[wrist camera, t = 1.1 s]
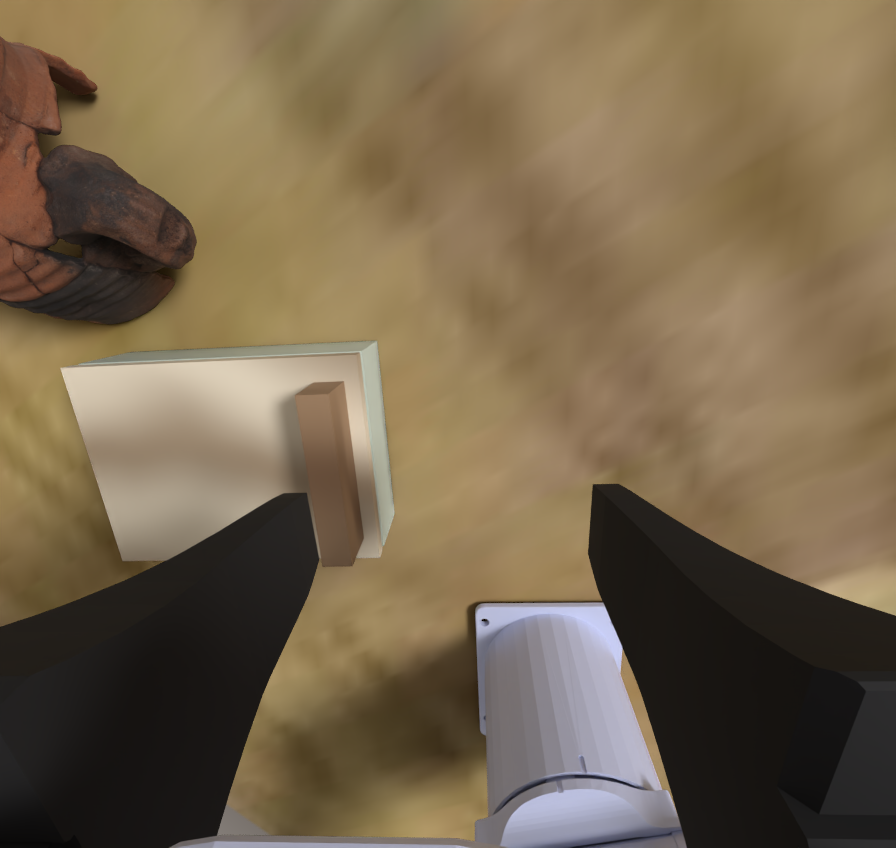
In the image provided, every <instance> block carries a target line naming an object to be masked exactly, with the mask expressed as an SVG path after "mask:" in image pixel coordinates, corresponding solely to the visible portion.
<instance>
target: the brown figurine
mask: <svg viewBox="0 0 896 848" xmlns="http://www.w3.org/2000/svg"><path fill="white" fill-rule="evenodd" d="M52 81H53V82H55V83H56V84H58V85H60V86H62V87H63V88H65V89H66V90H68V91H70V92H71V93H74V94H77V95H84V94H90V93H92V92H95V91H96V90H97V85H96V84H95V83H94V82H92V81H90V80H89V79H88V78H87V77H86V75H85V74H84V73H83V72H82V71H81V70H78V69H75V68H73V67H71V66H70V65H68V64H67V63H66V62H65V61H64V60H63V59H61V58H59V57H57V56H54V55H50V54H48V53H45V52H43V51H42V50H39V49H36V48H33V47H30V46H27V45H24V44H22V43H11V42H6V41H5V40H4V39H3V38H2V37H0V301H1V302H4V303H5V304H7V305H9V306H11V307H15V308H24V309H26V310H28V311H31V312H33V313H44V314H46V315H49V316H51V317H54V318H58V319H65V320H84V321H89V322H93V323H100V324H116V323H120V322H125V321H130V320H132V319H134V318H136V317H138V316H140V315H143V314H145V313H147V312H148V311H149V310H151V309H153V308H154V307H155V306H156V305H157V304H158V303H159V302H160V300H162V299H163V298H164V297H165V296H166V295H167V294H168V292H169V291H170V290H171V289H172V287H173V286H174V284H175V282H174V280H173V279H172V278H171V277H169V276H167V275H162V274H159V273H157V272H156V271H157V270H159V269H161V268H164V267H168V268H172V269H180V268H182V267H183V266H184V265H185V264H186V263H188V262H189V261H191V260H192V259H193V256H194V249H195V246H196V243H197V241H196V236H195V233H194V230H193V227H192V225H191V223H190V222H189V220H188V219H187V218H186V217H185V216H184V215H183V214H182V213H181V212H180V211H179V210H177V209H176V208H175V207H174V206H172V205H171V204H170V203H169V202H167V201H166V200H165V199H164V198H162V197H161V196H159V195H158V194H156V193H154V192H153V191H151V190H150V189H148V188H146V187H144V186H143V185H141V184H139V183H137V181H136V179H134V178H133V177H132V176H131V175H129V174H128V173H127V172H125V171H124V170H123V169H121V168H120V167H118V165H117V164H116V163H115V162H114V161H113V160H112V159H110V158H108V157H107V156H105V155H102V154H98V153H94V152H91V151H87V150H84V149H82V148H80V147H77V146H74V145H61V146H58V147H56V148H54V149H53V150H52V151H51V152H50V154H49V155H48V156H47V157H46V158H44V157H43V155H42V153H41V151H40V149H39V140H38V134H39V133H43V134H45V135H46V134H48V135H59V134H60V133H61V128H62V126H61V120H60V117H59V110H58V105H57V95H56V88H55V86H54V84H53V82H52ZM59 238H61V239H63V240H65V241H66V242H68V243H71V244H77V245H81V247H82V256H83V257H82V258H76V257H73V256H68V255H64V254H61V253H56V252H53V251H50V250H48V248H49V247H50V246H53V245H55V244H56V243H57V241H58V239H59Z"/></svg>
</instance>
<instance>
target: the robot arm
mask: <svg viewBox="0 0 896 848" xmlns="http://www.w3.org/2000/svg"><path fill="white" fill-rule="evenodd" d="M588 555H589V559H590V563H591V567H592V570H593V574H594V578H595V581H596V585H597V588H598V591H599V593H600V596H601V598H602V601H603V603H483V604H479V605H478V606H477V607H476V609H475V622H476V645H477V669H478V692H479V716H480V731H481V733H482V734H483V735H485V736H486V751H487V792H488V817H487V818H484V819H480V820H477V821H476V822H475V841H470V840H464V839H458V838H407V837H340V836H272V835H219V836H217V833H218V829H219V826H220V823H221V819H222V816H223V813H224V810H225V806H226V803H227V800H228V796H229V793H230V790H231V787H232V784H233V780H234V777H235V774H236V771H237V768H238V765H239V762H240V759H241V756H242V753H243V750H244V747H245V744H246V741H247V738H248V735H249V732H250V729H251V726H252V724H253V721H254V718H255V715H256V712H257V709H258V706H259V704H260V701H261V698H262V695H263V693H264V691H265V688H266V686H267V683H268V681H269V679H270V676H271V674H272V672H273V670H274V668H275V666H276V663H277V661H278V659H279V657H280V655H281V653H282V651H283V649H284V646H285V644H286V642H287V640H288V638H289V636H290V634H291V632H292V629H293V627H294V625H295V623H296V621H297V619H298V616H299V614H300V612H301V610H302V608H303V606H304V603H305V601H306V599H307V597H308V594H309V591H310V588H311V585H312V582H313V579H314V576H315V572H316V569H317V565H318V562H319V555H318V550H317V544H316V539H315V534H314V528H313V523H312V518H311V512H310V507H309V502H308V496H307V493H283V494H281V495H279V496H277V497H275V498H273V499H271V500H269V501H267V502H266V503H264V504H262V505H261V506H259V507H257V508H256V509H254V510H253V511H251V512H249V513H248V514H246V515H244V516H243V517H241V518H240V519H238V520H236V521H235V522H233V523H231V524H230V525H228V526H226V527H225V528H223V529H222V530H220V531H218V532H217V533H215V534H213V535H211V536H210V537H208V538H206V539H204V540H203V541H201V542H199V543H197V544H196V545H194V546H192V547H190V548H188V549H187V550H185V551H183V552H181V553H180V554H178V555H176V556H174V557H172V558H170V559H168V560H166V561H164V562H162V563H160V564H159V565H157V566H154V567H152V568H150V569H148V570H146V571H144V572H142V573H140V574H138V575H136V576H133V577H131V578H129V579H127V580H125V581H122V582H120V583H118V584H115V585H113V586H110V587H108V588H105V589H103V590H100V591H98V592H96V593H93V594H91V595H88V596H86V597H83V598H81V599H78V600H76V601H73V602H71V603H68V604H66V605H63V606H60V607H57V608H55V609H52V610H49V611H46V612H43V613H41V614H38V615H35V616H32V617H29V618H26V619H23V620H20V621H17V622H14V623H11V624H8V625H5V626H2V627H0V848H896V616H895V615H891V614H888V613H885V612H882V611H879V610H876V609H873V608H870V607H866V606H863V605H860V604H857V603H854V602H852V601H849V600H846V599H843V598H840V597H837V596H834V595H832V594H829V593H826V592H824V591H821V590H819V589H816V588H813V587H811V586H808V585H806V584H803V583H801V582H798V581H795V580H793V579H790V578H788V577H786V576H783V575H781V574H779V573H776V572H774V571H772V570H769V569H767V568H765V567H763V566H761V565H759V564H756V563H754V562H752V561H750V560H748V559H746V558H744V557H742V556H739V555H737V554H735V553H733V552H731V551H730V550H728V549H726V548H724V547H722V546H720V545H718V544H716V543H715V542H713V541H711V540H709V539H707V538H706V537H704V536H702V535H700V534H698V533H697V532H695V531H693V530H692V529H690V528H688V527H687V526H685V525H683V524H682V523H680V522H678V521H677V520H675V519H673V518H672V517H670V516H669V515H667V514H666V513H664V512H662V511H661V510H659V509H658V508H656V507H655V506H653V505H652V504H650V503H649V502H647V501H645V500H644V499H642V498H641V497H639V496H638V495H636V494H635V493H633V492H632V491H630V490H628V489H627V488H625V487H623V486H621V485H619V484H594V485H593V490H592V505H591V519H590V534H589V548H588ZM482 619H487V620H488V621H482ZM622 648H623V650H624V652H625V655H626V657H627V659H628V662H629V664H630V666H631V669H632V671H633V673H634V676H635V679H636V681H637V684H638V687H639V689H640V692H641V694H642V697H643V701H644V704H645V707H646V710H647V713H648V717H649V720H650V723H651V726H652V729H653V732H654V736H655V739H656V742H657V745H658V749H659V752H660V755H661V759H662V762H663V766H664V769H665V772H666V776H667V779H668V782H669V786H670V789H671V793H672V796H673V800H674V803H675V807H676V810H677V813H676V810H675V807H674V805H673V802H672V799H671V797H670V794H669V792H668V791H667V790H662V788H661V785H660V783H659V780H658V777H657V774H656V771H655V769H654V766H653V763H652V760H651V758H650V755H649V752H648V749H647V747H646V744H645V741H644V738H643V736H642V733H641V730H640V727H639V725H638V722H637V719H636V716H635V714H634V711H633V708H632V705H631V703H630V700H629V697H628V694H627V692H626V689H625V686H624V683H623V681H622V678H621V675H620V670H621V658H622ZM677 814H678V815H677Z"/></svg>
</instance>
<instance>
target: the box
mask: <svg viewBox="0 0 896 848" xmlns="http://www.w3.org/2000/svg"><path fill="white" fill-rule="evenodd" d="M355 352H360V357H361V366H362V374H363V383H364V392H365V401H366V409H367V418H368V427H369V436H370V445H371V453H372V462H373V471H374V480H375V488H376V497H377V506H378V515H379V524H380V532H381V541H382V546H384V544H385V541H386V538H387V535H388V532H389V529H390V526H391V523H392V520H393V517H394V514H395V512H394V502H393V493H392V483H391V473H390V463H389V453H388V443H387V433H386V423H385V414H384V404H383V394H382V384H381V374H380V364H379V354H378V345H377V341H357V342H335V343H314V344H293V345H271V346H250V347H229V348H207V349H186V350H164V351H143V352H129V353H124V354H120V355H116V356H111V357H107V358H102V359H98V360H94V361H89V362H85V363H81V364H79V365H89V364H111V363H133V362H156V361H178V360H200V359H222V358H244V357H266V356H289V355H311V354H333V353H355Z"/></svg>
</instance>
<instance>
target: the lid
mask: <svg viewBox="0 0 896 848" xmlns="http://www.w3.org/2000/svg"><path fill="white" fill-rule="evenodd" d="M61 372H62V375H63V378H64V381H65V384H66V387H67V390H68V393H69V396H70V399H71V403H72V406H73V409H74V412H75V415H76V418H77V421H78V424H79V427H80V430H81V434H82V437H83V440H84V443H85V446H86V449H87V452H88V455H89V458H90V461H91V465H92V468H93V471H94V474H95V477H96V480H97V483H98V486H99V489H100V492H101V496H102V499H103V502H104V505H105V508H106V511H107V514H108V517H109V520H110V523H111V527H112V530H113V533H114V536H115V539H116V542H117V545H118V548H119V551H120V554H121V558H122V561H166V560H168V559H170V558H172V557H174V556H176V555H178V554H180V553H181V552H183V551H185V550H187V549H188V548H190V547H192V546H194V545H196V544H197V543H199V542H201V541H203V540H204V539H206V538H208V537H210V536H211V535H213V534H215V533H217V532H218V531H220V530H222V529H223V528H225V527H226V526H228V525H230V524H231V523H233V522H235V521H236V520H238V519H240V518H241V517H243V516H244V515H246V514H248V513H249V512H251V511H253V510H254V509H256V508H257V507H259V506H261V505H262V504H264V503H266V502H267V501H269V500H271V499H273V498H275V497H277V496H279V495H281V494H283V493H307V496H308V502H309V507H310V512H311V518H312V523H313V528H314V534H315V539H316V544H317V550H318V555H319V559H321V560H322V566H323V567H334V566H353V563H354V561H355V559H356V558H380V556H381V553H382V541H381V532H380V524H379V515H378V506H377V497H376V488H375V480H374V471H373V462H372V453H371V445H370V436H369V427H368V418H367V409H366V401H365V392H364V383H363V374H362V366H361V357H360V352H355V353H333V354H311V355H289V356H266V357H244V358H222V359H200V360H178V361H156V362H133V363H111V364H89V365H72V366H67V367H63V368H61Z"/></svg>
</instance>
